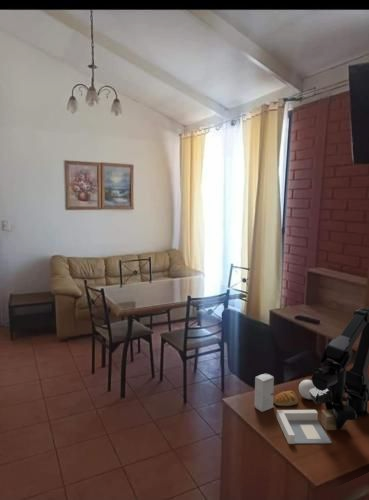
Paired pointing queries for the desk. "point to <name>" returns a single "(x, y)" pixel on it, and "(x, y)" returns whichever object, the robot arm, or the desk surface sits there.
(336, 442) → the desk surface
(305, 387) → the white egg
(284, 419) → the corner arena
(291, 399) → the pastry
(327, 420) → the walnut block
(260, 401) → the skincare box
